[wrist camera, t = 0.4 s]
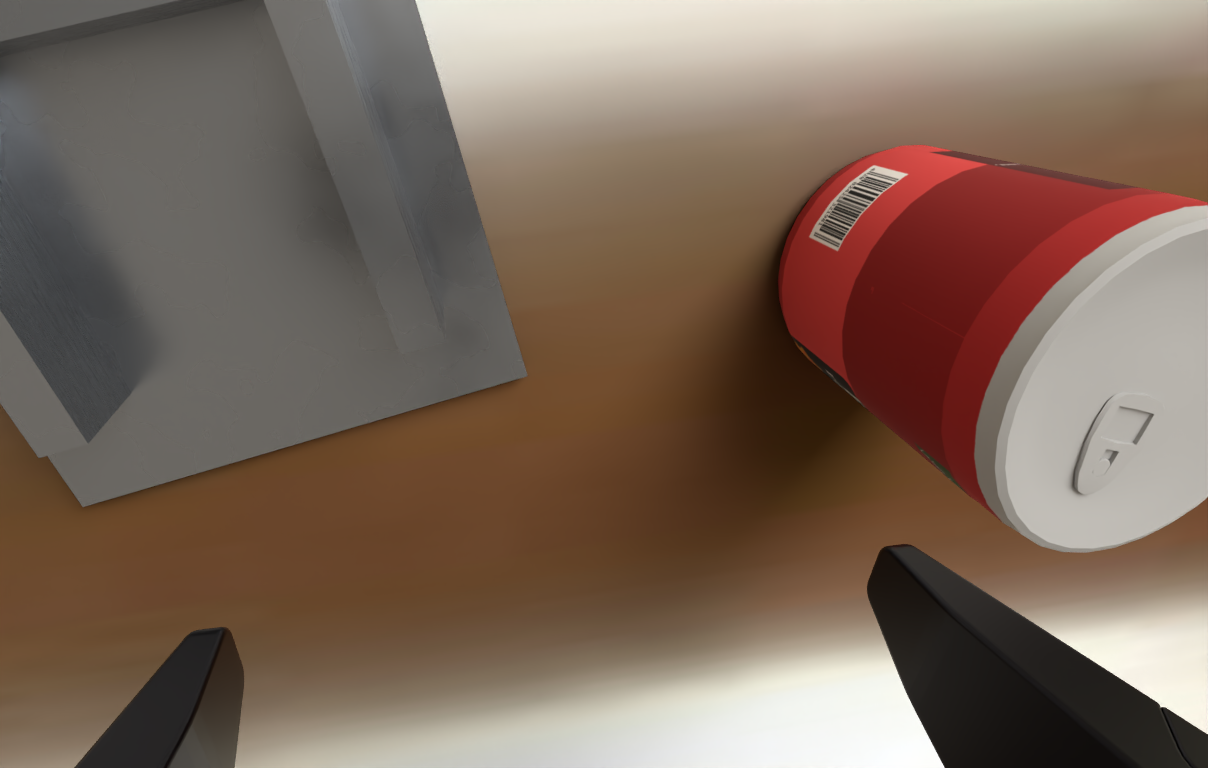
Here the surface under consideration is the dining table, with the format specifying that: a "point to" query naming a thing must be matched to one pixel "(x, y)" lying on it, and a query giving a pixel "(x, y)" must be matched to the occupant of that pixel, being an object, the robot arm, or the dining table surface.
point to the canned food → (1016, 333)
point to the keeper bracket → (230, 233)
